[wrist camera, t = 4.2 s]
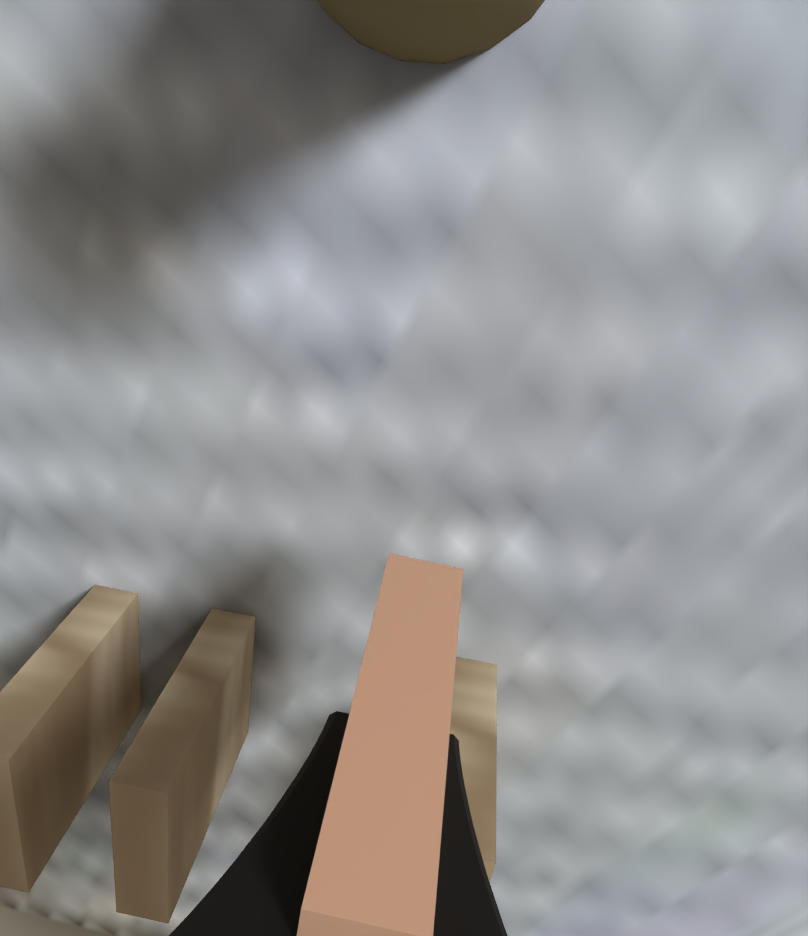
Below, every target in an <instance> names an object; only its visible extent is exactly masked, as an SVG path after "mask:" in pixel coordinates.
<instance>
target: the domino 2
mask: <svg viewBox="0 0 808 936" xmlns="http://www.w3.org/2000/svg"><path fill="white" fill-rule="evenodd" d="M462 578H463V569H461V568H456V567H451V566H447V565H442V564H437V563H432V562H428V561H423V560H418V559H413V558H409V557H404V556H399V555H394V554H390V553H389V556H388V560H387V564H386V568H385V572H384V576H383V580H382V584H381V588H380V593H379V597H378V601H377V605H376V609H375V613H374V617H373V621H372V625H371V629H370V633H369V637H368V641H367V645H366V649H365V653H364V657H363V661H362V665H361V669H360V673H359V677H358V681H357V685H356V689H355V693H354V697H353V701H352V706H351V710H350V714H349V718H348V722H347V726H346V730H345V734H344V738H343V742H342V746H341V750H340V754H339V758H338V762H337V766H336V770H335V774H334V778H333V782H332V786H331V790H330V794H329V798H328V802H327V806H326V810H325V814H324V818H323V823H322V827H321V831H320V835H319V839H318V843H317V847H316V851H315V855H314V859H313V863H312V867H311V871H310V875H309V879H308V883H307V887H306V891H305V895H304V899H303V903H302V907H301V912H300V918H299V925H298V931H297V936H433V930H434V918H435V906H436V894H437V882H438V869H439V857H440V845H441V833H442V821H443V809H444V796H445V784H446V772H447V760H448V748H449V736H450V724H451V711H452V699H453V687H454V675H455V663H456V651H457V638H458V626H459V614H460V602H461V590H462Z"/></svg>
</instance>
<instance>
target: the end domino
mask: <svg viewBox="0 0 808 936" xmlns="http://www.w3.org/2000/svg"><path fill="white" fill-rule="evenodd" d="M450 734H454V735H455V737H456V738H457V739H458V740H459V749H460V758H461V766H462V773H463V779H464V784H465V790H466V794H467V799H468V804H469V808H470V813H471V817H472V821H473V825H474V829H475V833H476V837H477V840H478V844H479V848H480V851H481V855H482V859H483V862H484V866H485V869H486V873H487V876H488V879H489V882H490V879H491V876H492V873H493V870H494V867H495V864H496V742H497V665H495V664H490V663H485V662H480V661H475V660H470V659H465V658H460V657H456V663H455V675H454V687H453V699H452V711H451V724H450Z"/></svg>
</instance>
